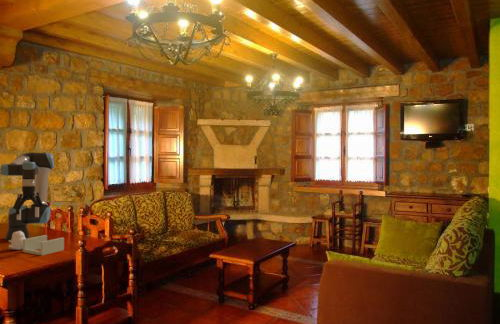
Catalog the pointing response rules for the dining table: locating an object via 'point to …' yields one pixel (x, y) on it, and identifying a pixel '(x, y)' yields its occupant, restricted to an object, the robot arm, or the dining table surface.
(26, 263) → the dining table surface
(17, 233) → the figurine
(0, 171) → the robot arm
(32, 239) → the beige open frame
